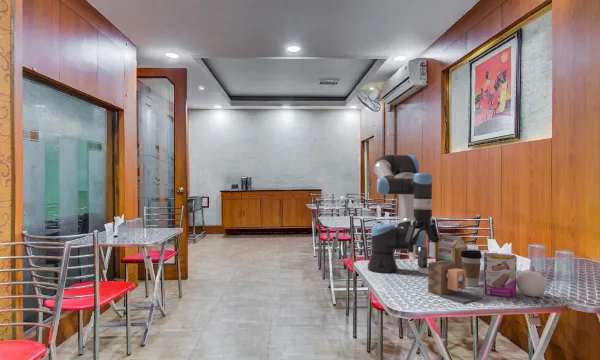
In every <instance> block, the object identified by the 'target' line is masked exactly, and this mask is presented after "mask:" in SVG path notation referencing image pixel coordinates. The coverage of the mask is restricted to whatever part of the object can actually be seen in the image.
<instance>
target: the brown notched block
mask: <svg viewBox="0 0 600 360" xmlns="http://www.w3.org/2000/svg"><path fill="white" fill-rule="evenodd" d="M427 267H428V274H427V277H428V278H427V286H428V287H427V290H428V291H427V292H428V294H429V293H430V294H433V295H435V296H439V297H440V295H444V294H448V293H453V292H457V291H454V290H451V289H448V279H446V271H448V269H454V268H457V263H454V262H449V261H444V260H443V261H437V262H435V261H431V262H427Z"/></svg>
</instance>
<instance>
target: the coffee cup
mask: <svg viewBox="0 0 600 360" xmlns="http://www.w3.org/2000/svg"><path fill="white" fill-rule="evenodd" d="M461 257H462V269H463V270H466V286H467V287H470V288H471V287H473V288H475V287H479V283H480V273H481V263H482V262H481V259H483V258H482V252H481V250H477V249H470V250H469V249H467V250H465V251H461Z"/></svg>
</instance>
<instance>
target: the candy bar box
mask: <svg viewBox="0 0 600 360" xmlns="http://www.w3.org/2000/svg"><path fill="white" fill-rule="evenodd" d="M517 259H518V258H517V256H516V255H515V254H511V253H501V252H500V253H497V252H486V251H485V252H483V294H484V295H486V296H493V297H501V298H502V297H505V298H514V299H515V298H516V299H517V284H516V279H517V262H518V261H517Z"/></svg>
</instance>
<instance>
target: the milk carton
mask: <svg viewBox="0 0 600 360" xmlns="http://www.w3.org/2000/svg"><path fill="white" fill-rule="evenodd" d="M465 250H468V245H467V243H466V242H465V241H463V240H462V237H461V236H456V235H448V234H442V235H441V237H440V240H439V241H438V243H437V242H436V258H435V261H434V262H437V261H443V260H444V261H449V262H454V263H457V268H459V269H462V257H461V251H465Z"/></svg>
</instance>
